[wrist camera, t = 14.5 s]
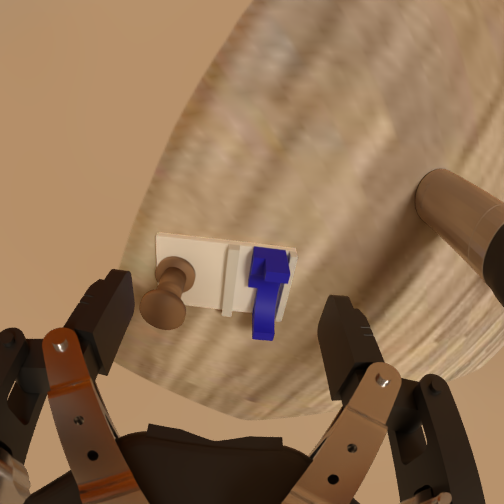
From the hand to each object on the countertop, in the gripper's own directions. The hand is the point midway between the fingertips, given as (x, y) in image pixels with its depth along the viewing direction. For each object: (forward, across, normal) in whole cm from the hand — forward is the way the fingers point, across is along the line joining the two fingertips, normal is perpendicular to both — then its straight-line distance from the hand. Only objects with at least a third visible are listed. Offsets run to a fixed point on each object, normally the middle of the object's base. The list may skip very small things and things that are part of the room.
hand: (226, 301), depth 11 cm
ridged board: (+28, +1, +18) cm, 33 cm away
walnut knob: (+27, +8, +18) cm, 33 cm away
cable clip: (+27, -5, +18) cm, 33 cm away
